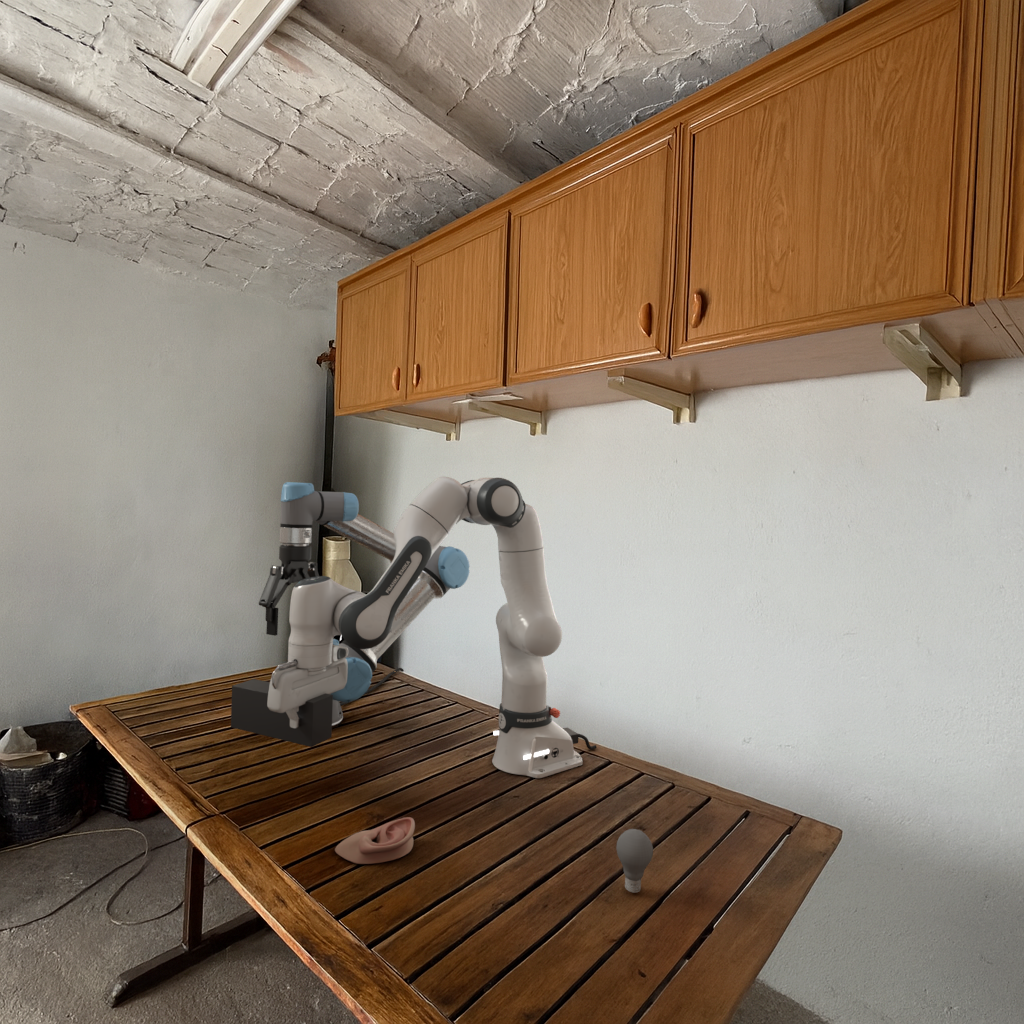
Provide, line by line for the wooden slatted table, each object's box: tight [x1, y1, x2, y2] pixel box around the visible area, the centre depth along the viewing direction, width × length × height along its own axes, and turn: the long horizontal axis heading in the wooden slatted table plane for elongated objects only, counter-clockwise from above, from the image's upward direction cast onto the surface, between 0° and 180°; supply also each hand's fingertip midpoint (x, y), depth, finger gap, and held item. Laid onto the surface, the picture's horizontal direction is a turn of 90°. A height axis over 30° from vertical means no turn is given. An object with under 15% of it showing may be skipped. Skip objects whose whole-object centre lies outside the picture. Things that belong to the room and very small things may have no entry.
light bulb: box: [615, 828, 654, 894], centre depth 106 cm, size 6×6×10 cm
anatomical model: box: [334, 816, 416, 865], centre depth 115 cm, size 13×4×12 cm
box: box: [230, 678, 333, 748], centre depth 135 cm, size 22×6×9 cm, turn 66°
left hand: (292, 630), depth 157 cm, fingers open, 13 cm apart
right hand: (308, 721), depth 132 cm, fingers closed on box, 6 cm apart
